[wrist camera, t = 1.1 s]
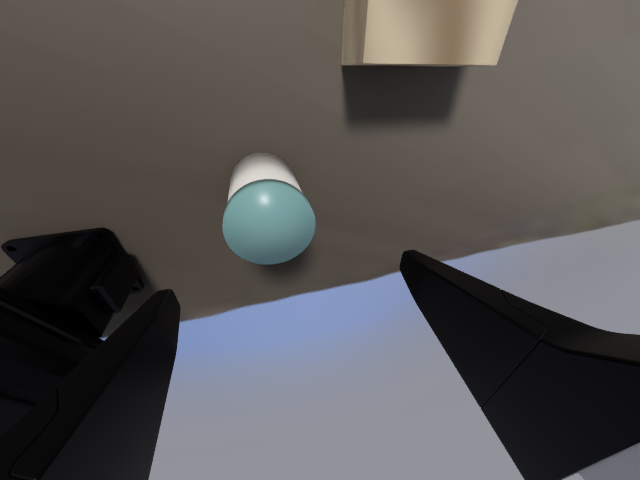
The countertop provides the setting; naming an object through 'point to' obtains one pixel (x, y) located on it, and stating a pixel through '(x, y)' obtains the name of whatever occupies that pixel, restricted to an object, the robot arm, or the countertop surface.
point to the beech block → (425, 32)
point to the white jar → (266, 211)
